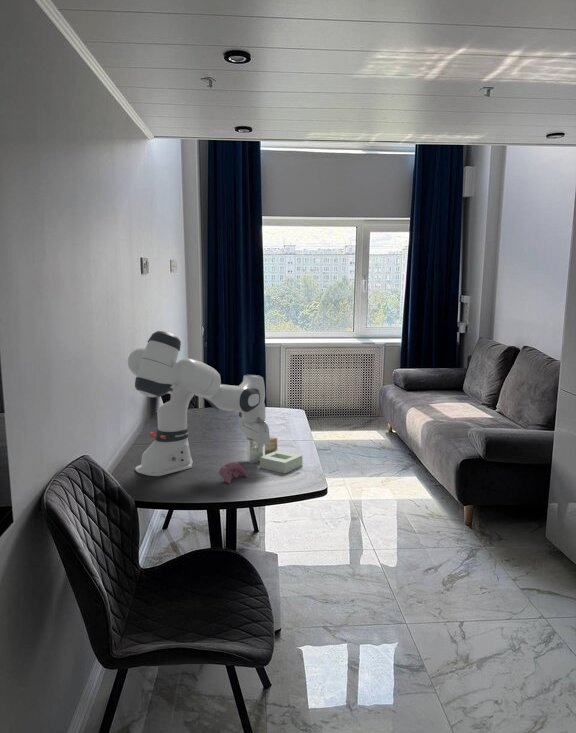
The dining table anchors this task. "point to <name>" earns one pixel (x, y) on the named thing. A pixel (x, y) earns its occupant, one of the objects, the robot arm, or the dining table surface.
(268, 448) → the round beech peg
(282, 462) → the slot block
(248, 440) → the grey rectangular block
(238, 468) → the video game controller
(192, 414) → the dining table surface
